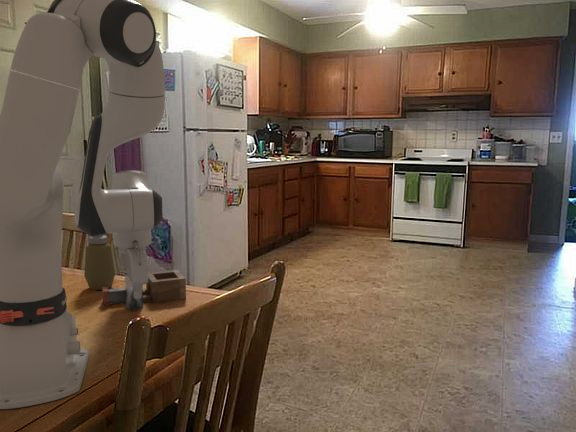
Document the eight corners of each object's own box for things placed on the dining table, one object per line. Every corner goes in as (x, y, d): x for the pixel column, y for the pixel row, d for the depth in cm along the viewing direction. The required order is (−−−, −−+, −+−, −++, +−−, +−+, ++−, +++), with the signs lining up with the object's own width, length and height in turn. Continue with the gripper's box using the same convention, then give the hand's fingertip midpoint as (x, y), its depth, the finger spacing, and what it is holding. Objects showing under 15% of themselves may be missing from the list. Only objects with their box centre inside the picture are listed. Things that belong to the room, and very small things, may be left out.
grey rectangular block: (135, 301, 131) (135, 288, 130) (104, 305, 128) (103, 291, 127) (133, 297, 134) (132, 284, 133) (102, 301, 131) (102, 287, 130)
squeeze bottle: (122, 285, 144) (119, 222, 141) (100, 293, 137) (97, 227, 133) (100, 281, 147) (97, 220, 144) (78, 289, 140) (74, 224, 137)
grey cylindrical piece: (146, 309, 126) (145, 270, 124) (126, 312, 124) (124, 272, 122) (142, 303, 130) (141, 265, 128) (123, 305, 128) (121, 267, 126)
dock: (186, 298, 134) (185, 278, 133) (135, 305, 128) (135, 284, 127) (178, 289, 142) (177, 269, 141) (130, 294, 136) (129, 274, 135)
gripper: (154, 245, 116) (155, 303, 118) (138, 228, 134) (140, 279, 136) (125, 247, 113) (127, 307, 115) (113, 230, 131) (115, 281, 134)
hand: (134, 291), depth 126 cm, fingers open, 8 cm apart
